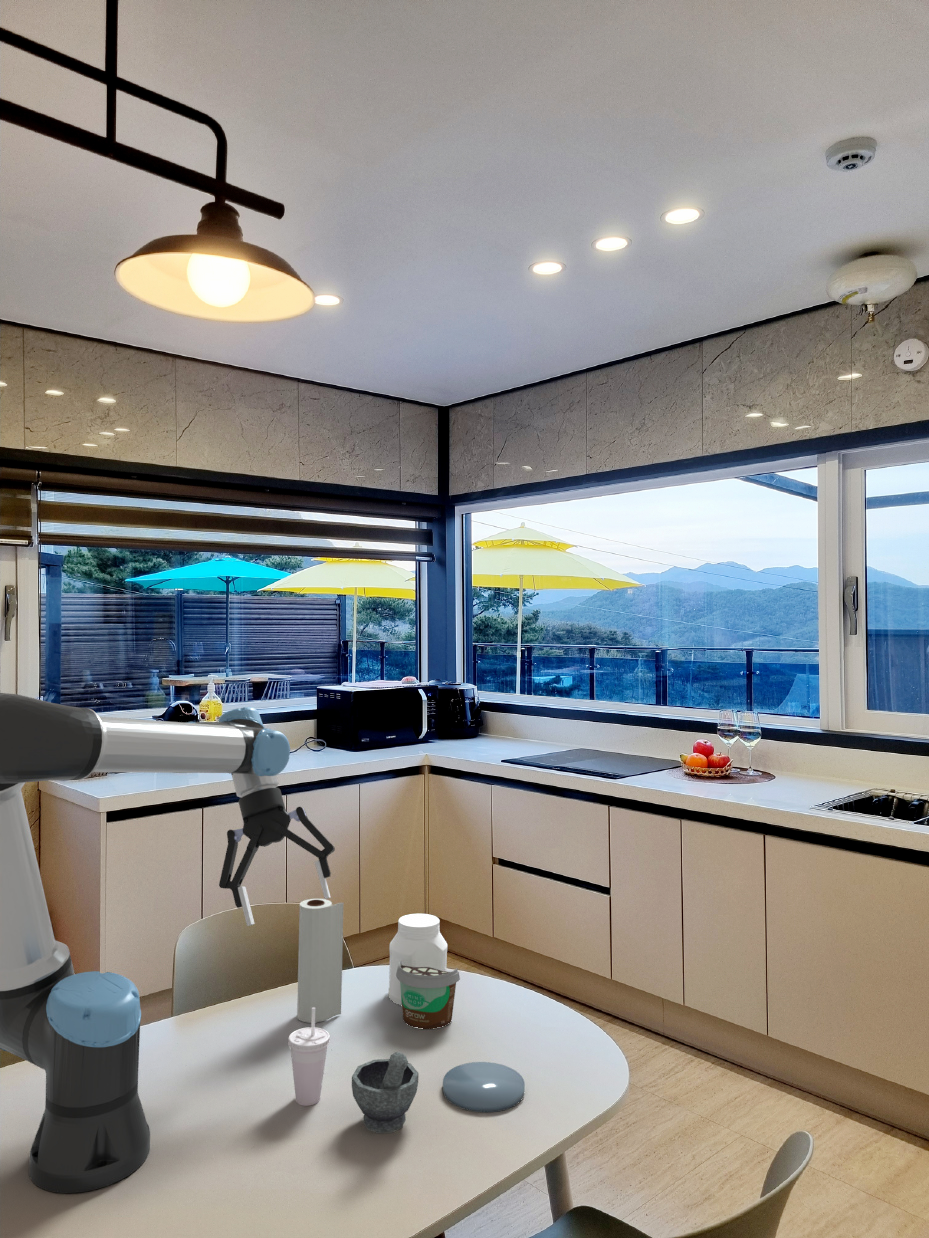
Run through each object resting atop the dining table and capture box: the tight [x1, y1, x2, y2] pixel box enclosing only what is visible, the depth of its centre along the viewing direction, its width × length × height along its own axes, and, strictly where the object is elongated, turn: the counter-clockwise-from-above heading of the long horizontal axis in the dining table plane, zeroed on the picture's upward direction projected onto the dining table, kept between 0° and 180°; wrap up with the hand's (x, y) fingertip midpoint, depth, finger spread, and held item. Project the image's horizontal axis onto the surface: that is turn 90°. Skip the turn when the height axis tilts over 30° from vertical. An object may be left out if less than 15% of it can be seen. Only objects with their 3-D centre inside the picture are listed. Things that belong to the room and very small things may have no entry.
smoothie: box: [287, 1007, 331, 1107], centre depth 135 cm, size 6×6×14 cm
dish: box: [442, 1061, 526, 1113], centre depth 139 cm, size 13×13×1 cm
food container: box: [396, 961, 461, 1030], centre depth 161 cm, size 12×6×10 cm, turn 73°
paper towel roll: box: [296, 898, 344, 1024], centre depth 163 cm, size 7×6×21 cm
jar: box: [387, 913, 448, 1006], centre depth 174 cm, size 12×10×15 cm
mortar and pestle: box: [351, 1051, 419, 1134], centre depth 129 cm, size 11×9×12 cm
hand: (289, 911), depth 150 cm, fingers open, 13 cm apart
